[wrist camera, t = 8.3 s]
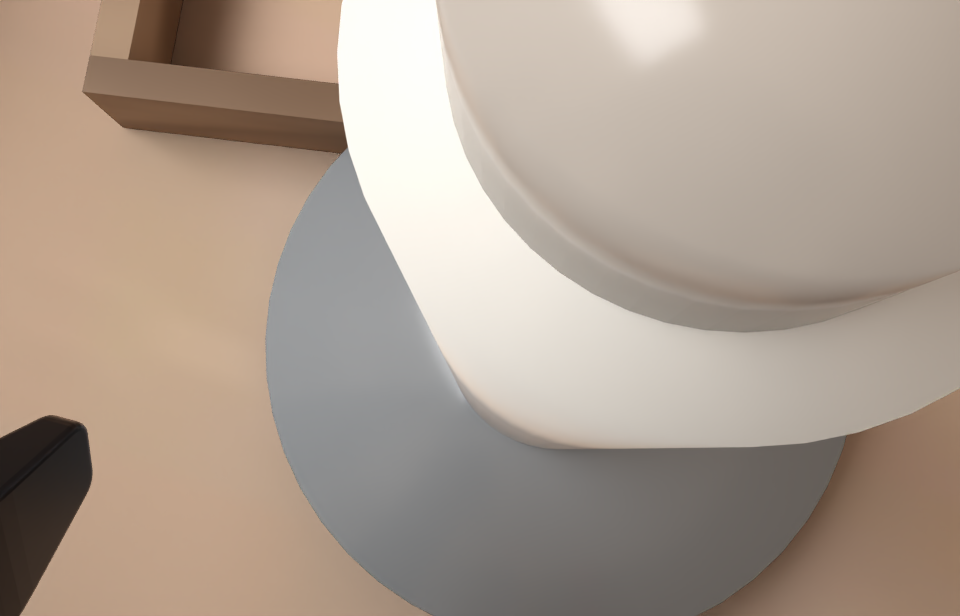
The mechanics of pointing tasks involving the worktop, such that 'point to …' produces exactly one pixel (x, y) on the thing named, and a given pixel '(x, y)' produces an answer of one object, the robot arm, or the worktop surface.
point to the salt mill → (669, 208)
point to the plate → (494, 459)
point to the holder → (200, 87)
